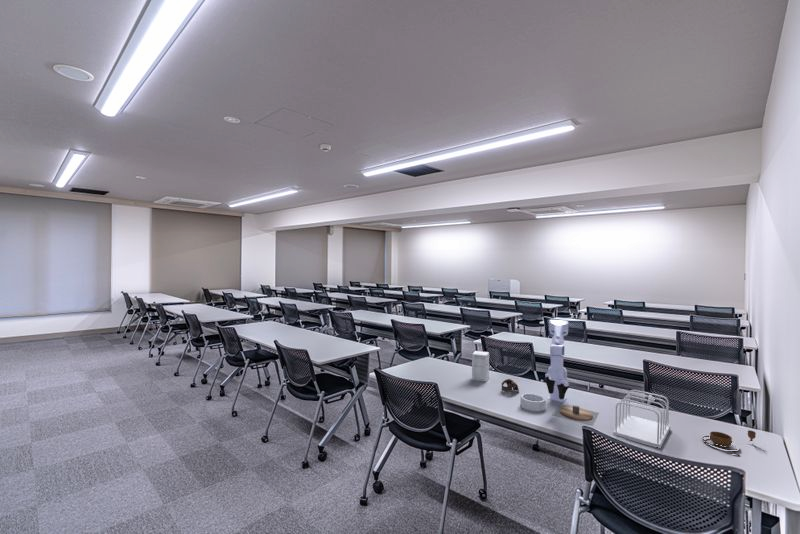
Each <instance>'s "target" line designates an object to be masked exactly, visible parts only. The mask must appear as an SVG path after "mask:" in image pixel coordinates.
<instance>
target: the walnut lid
mask: <svg viewBox="0 0 800 534" xmlns="http://www.w3.org/2000/svg"><path fill="white" fill-rule="evenodd" d="M587 410H588V409H584V408H582V407H580V406H579V405H575V404H573V405H572V407H570V405H568V406H567V407H562V408H560V413H561V414H562V415H563V416H565V417H567V418H570V419H574V420H581V421H586V420H591V419H592V418H593V415H592V413H591V412H589V411H590V410H589V411H587Z"/></svg>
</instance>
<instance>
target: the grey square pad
mask: <svg viewBox="0 0 800 534" xmlns="http://www.w3.org/2000/svg"><path fill="white" fill-rule="evenodd" d="M567 406H570V405H566V404H564V403H563V404H562V403H561V404H560V405H559V406H558V407H557V408H556V410H555V411H554V412H553V413H552V416H554V417H557V418H561V419H564V420H569V421H573V422H577V423H581V424H585V425H589V426H593V425H594V424H595V422H596V421H597V420H596V419H597V418H598V416H599V414H600V413H599V412H596V411H593V410H592V411H591V410H588V409H586V410H587V411H589V412H591V413H592V415H593V418H592V419H591V420H586V421H581V420H574V419H570V418H567V417H565V416H563V415H562V414H561V413H560V408H562V407H567ZM570 407H573V405H571V406H570Z"/></svg>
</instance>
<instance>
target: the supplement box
mask: <svg viewBox="0 0 800 534" xmlns="http://www.w3.org/2000/svg"><path fill="white" fill-rule="evenodd" d="M471 355H472V356H471V380H472V381H477V382H479V381H480V382H487V381H488V380H489V378H490V352H489V351H479V350H475V351H474V352H473V353H472V354H471Z"/></svg>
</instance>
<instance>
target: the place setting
mask: <svg viewBox="0 0 800 534" xmlns="http://www.w3.org/2000/svg"><path fill="white" fill-rule="evenodd" d="M709 433H710V434H709V435H704V436H702V442H703V441H705V442H706V443H707V444H710V445H712V446H715V447H718V446H717V445H715V444H718V445H722V446H727V447H730V446H732V445H731V443H732V442H733V441H732V440H733V438H732V436H731V435H729V434H727V433H724V432H722V431H710V432H709ZM756 433H757V432H756V431H755V430H754V431H753V430H751V429H749V430H747V436H748V438H749V442H750V441H753V440H754V439H755V438H756ZM709 436H710V439H709V440H710V441H711V442H712V443H713V444H714V443H715V444H714V445H713V444H711V443H710V442H708V441H707V440H704V439H703V438H704V437H709ZM753 442H754V441H753ZM707 444H706V445H707Z"/></svg>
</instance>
